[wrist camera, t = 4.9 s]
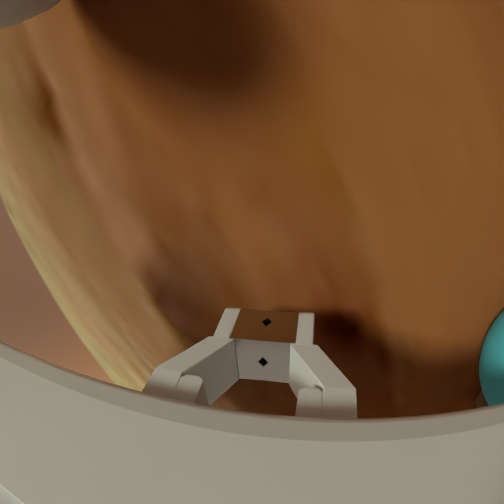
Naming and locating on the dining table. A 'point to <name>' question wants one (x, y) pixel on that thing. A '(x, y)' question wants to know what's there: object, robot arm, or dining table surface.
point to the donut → (22, 10)
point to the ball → (493, 363)
